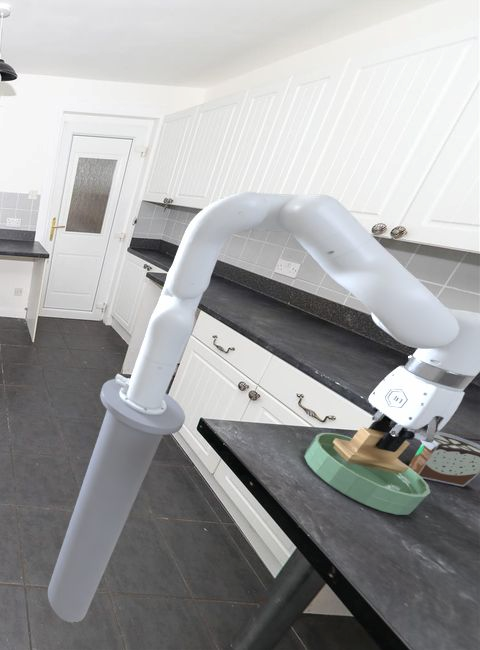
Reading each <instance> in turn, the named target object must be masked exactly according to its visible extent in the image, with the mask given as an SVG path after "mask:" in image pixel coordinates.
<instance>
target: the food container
mask: <svg viewBox="0 0 480 650" xmlns="http://www.w3.org/2000/svg"><path fill="white" fill-rule="evenodd" d="M420 442H421V444H420V446H419V447H418V449H417V451H416V453H415V455H414V456H413V458H412V459H411V461H410V462H409V464H408V465H407V466H408V467H410V468H411V469H412V470H414V471H415V472H416V473H417V474H419V475H420V476H421V477H422V478H423V479H425V480H430V481H435V482H439V483H443V484H449V485H454V486H459V487H465V486H467V485H468V484H469V483H470V482H471V481H472V480H474V478H476V477H477V476H479V474H480V444H478V443H475V442H473V441H471V440H468V439H465V438H463V437H460V436H458V435H454V434H450V433H447V432H443V431H438V432H437V433H435V436H434V441H433V442H426V441H422V440H420Z"/></svg>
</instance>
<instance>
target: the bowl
mask: <svg viewBox="0 0 480 650" xmlns="http://www.w3.org/2000/svg"><path fill="white" fill-rule="evenodd" d="M335 438H338V439H342V440H346V441H351V439H352V438H353V437H350V436H347V435H343V434H339V433H333V432H321V433H318V434H317V435H315V437H314V438H313V439H312V441H311V443H310V444H309V446H308V447H307V448H306V450H305V452H304V459H305V461H306V464H307V465H308V466H309V468H310V469H311V470H312V471H313V472H314V473H315V474H316V475H317V476H318V477H319V478H320V479H322V481H324V482H325V483H327V484H328V485H329V486H331V487H332V488H333V489H334V490H336V491H338V492H340V493H341V494H343V495H345V496H346V497H348V498H350V499H352V500H354V501H356V502H357V503H360V504H362V505H365V506H367V507H369V508H372V509H375V510H378V511H381V512H383V513H389V514H392V515H397V516H403V515H407V516H408V515H410V514H411V513H413V512H414V511H415V510H416V509H417V508H418V507H419V506H420V504H421V503H422V502H423V501H424V500H425V499H427V497H428V496H429V495H430V494H431V490H430V485H429V484H428V483H427V482H426V481H425V480H424V479H425V478H422V477H421V476H420V475H419V474H417V473H416V472H415V471H414V470H412V469H411V468H410V467H408V466H409V465H407V464H405V465H406V466H407V467H408V470H407V471H406V472H402V471H400V472H399V473H398V474H395V473H391V472H387V471H382V470H378V469H374V468H370V467H366V466H362V465H358V464H354V463H350V462H347V461H346V460H345V459H344V458H343V457H342V456H341V455H340V454H339V453H338V452H337V451H336V450H335V449H334V448H333V447H334V446H335V444H334V443H333V441H334V440H335Z"/></svg>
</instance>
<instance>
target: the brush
mask: <svg viewBox="0 0 480 650" xmlns="http://www.w3.org/2000/svg"><path fill="white" fill-rule="evenodd" d="M368 428H369V427H362V426H360V428H359V429H358V430H357V431H356V433H355V434H354V435H353V437H351V438H352V439H351V441H346V440H342V439H338V438H335V440H334V441H333V443H334V444H335V446H334V447H333V448H334V449H335V450H336V451H337V452H338V453H339V454H340V455H341V456H342V457H343V458H344V459H345V460H346V461H347V462H350V463H354V464H358V465H362V466H366V467H370V468H374V469H378V470H382V471H387V472H391V473H395V474H398V473H399V472H400V471H402V472H406V471H407V470H408V467H407V466H408V465H407V464H406V463H404V462H402V461H401V460H400V459H399V457H400V456H401V454H402V453H404V451H405V450H406V449H407V448H408V447H409V446H410V442H409V441H408V440H407V439H406V440H405V441H404V443H403V444H402V445H401V446H400V447H399V448H398V450H397V451H396V452H391V451H386V450H382V449H378V448H377V447H376V444H377V443H378V442H379V441H380V439H381V438H382V436H383V435H384V434H385V433H386V432H381V431H377V430H372V429H368ZM406 465H407V466H406Z"/></svg>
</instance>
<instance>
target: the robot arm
mask: <svg viewBox="0 0 480 650" xmlns="http://www.w3.org/2000/svg"><path fill="white" fill-rule="evenodd" d="M249 230H252V231H261V232H272V233H287V234H288V233H290V234H291V235H292V236H293V237H294V239H295V240H296V241H297V242H298V243H299V244H300V245H301V246H302V248H303V249H304V250H305V251H306V252H307V253H308V254H309V255H310V257H311V258H313V260H314V261H315V262H316V263H317V264H318V265H319V266H320V268H322V270H323V271H324V272H325V273H326V274H327V275H328V276H329V277H331V279H332V280H334V281H335V282H336V283H337V284H338V285H339V286H340V287H342V288H344V289H345V290H347V291H348V292H349V293H351V294H352V295H353V296H354V297H355V298H356V299H358V301H360V303H362V304H363V305H364V306H365V307H366V308H367V309H368V310H369V311H370V312H371V318H372V321H373V322H374V324H375V325H376V326H378V327H379V328H380V329H381V330H382V331H384V332H385V333H387V334H388V335H389V336H390V337H392V338H393V339H394V340H395V341H396V342H398V343H400V344H402V345H404V346H406V347H410V348H414V349H416V350H415V352H414V353H413V354H411V355H409V356H408V357H407V359H408V361H407V362H406V363H405V365H399V366H398V367H396V368H395V369H393V370H392V371H390V373H389V374H387V375H386V377H384V379H382V381H380V382H379V383H378V385H377V386H376V387H375V388H374V390H373V391H372V392H371V393H370V394H369V396H368V399H367V400H368V402H369V404H370V406H371V408H372V410H373V415H372V417H371V419H372V420H371V421H373V422H372V423H371V424H370V426H369V427H367V428H368V429H372V430H377V431H381V432H386V433H385V434H384V435H383V436H382V438H381V439H380V441H379V442H378V443H377V444H376V447H377V448H378V449H382V450H386V451H391V452H396V451H397V450H398V448H399V447H400V446H401V445H402V444H403V443H404V441H405V440H406V441H412V440H418V441H421V440H422V441H426V442H433V441H434V436H435V433H437V432H441V430H442V429H443V428H444V427H445V426H446V425H447V423H448V422H449V421H450V420H451V418H452V417H453V416H454V414H456V413H455V412H456V411H457V410H458V408H459V406H460V404H461V403H462V401H463V398H464V396H465V394H466V393H465V392H464V390H465V389H466V388H467V387H468V386H469V384H470V383H471V382H472V381H473V379H475V378H476V376H477V375H478V374H479V373H480V312H476V311H475V312H474V311H471V310H463V309H454V308H450V307H446V306H445V305H444V304H443V302H441V301H440V300H439V298H437V297H436V295H434V293H432V291H431V290H430V289H428V288H427V286H425V285H424V284H423V283H422V282H421V281H420V280H419V279H417V278H416V276H414V275H413V274H412V273H411V272H410V271H409V270H408V269H407V268H405V267H404V265H402V264H401V262H400V261H398V259H396V257H394V255H392V254H391V253H390V252H389V251H388V250H387V249H386V248H385V247H384V246H383V245H382V244H381V243H380V242H379V241H378V240H377V239H376V238H375V237H374V236H373V235H372V234H371V233H370V232H369V231H368V230H367V229H366V228H365V227H364V226H363V225H362V223H361V222H360V221H359V220H358V219H357V218H356V217H355V216H354V215H353V214H352V213H351V212H350V211H349V210H348V208H346V207H345V206H344V204H342V203H341V202H340V201H339V200H338V199H337V198H335V197H333V196H331V195H327V194H319V193H318V194H286V193H284V194H283V193H266V192H265V193H264V192H255V191H241V192H237V193H235V194H232V195H229V196H226V197H223V198H221V199H218V200H217V201H214V202H212V203H210V204H208V206H206V207H204V208H203V209H202V210H200V211H199V212H198V213H197V214H196V215H195V216H194V217H193V219H191V221H190V223H188V225H187V228H186V229H185V232H184V233H183V237H182V238H181V241H180V244H179V246H178V248H177V251H176V254H175V256H174V259H173V262H172V264H171V267H169V269H168V272H167V274H166V279H165V282H164V285H163V287H162V290H161V293H160V296H159V299H158V301H157V303H156V306H155V308H154V310H153V313H152V314H151V316H150V319H149V321H148V325H147V329H146V331H145V335H144V338H143V340H142V344H141V346H140V349H139V352H138V356H137V358H136V361H135V364H134V367H133V370H132V373H131V376H130V378H129V377H128V378H127V377H125V376H123V375H121V374H120V373H116V376H115V377H114V379H116V382H115V383H117V384H118V385H121V386H122V388H121V389H120V392H119V395H120V398H121V399H122V400H123V402H124V403H125V404H127V405H128V406H129V407H131V408H132V409H134V410H136V411H138V412H141V413H144V414H148V415H161V414H163V413H164V412H165V410H166V407H167V406H166V403H165V401H164V400H163V398H164V396H165V393H166V394H167V391H168V388H169V385H170V383H171V381H172V378H173V376H174V373H175V371H176V368H177V366H178V364H179V361H180V359H181V356H182V353H183V351H184V349H185V347H186V345H187V342H188V341H189V339H190V337H191V334H192V332H193V330H194V326H195V321H196V313H197V309H198V307H199V305H200V302H201V300H202V298H203V295H204V292H205V291H206V290H207V289H208V288H209V285H210V282H211V277H212V274H213V271H214V269H215V267H216V264H217V261H218V259H219V257H220V255H221V252H222V251H223V248H224V246H225V244H226V243H227V241H228V240H229V239H230V238H231V237H233V236H234V235H236V234H238V233H240V232H247V231H249ZM394 423H396V424H395V425H394V426H392V425H393V424H394ZM405 429H406V430H405Z"/></svg>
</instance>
